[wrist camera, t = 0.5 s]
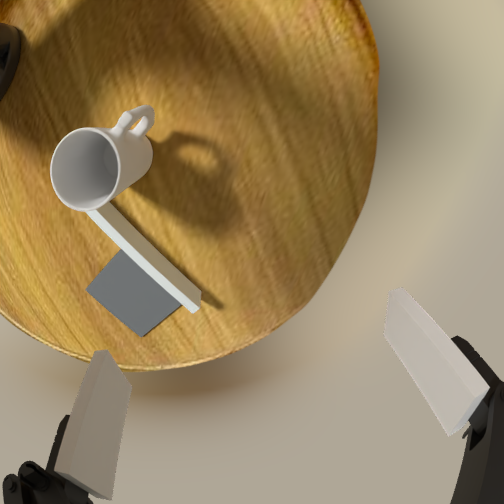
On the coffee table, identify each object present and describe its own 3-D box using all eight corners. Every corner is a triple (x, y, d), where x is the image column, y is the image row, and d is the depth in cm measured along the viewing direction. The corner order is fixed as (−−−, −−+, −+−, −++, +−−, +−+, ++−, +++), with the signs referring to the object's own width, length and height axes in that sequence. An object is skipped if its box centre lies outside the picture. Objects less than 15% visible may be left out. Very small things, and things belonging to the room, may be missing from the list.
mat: (86, 288, 36) (85, 289, 35) (130, 239, 34) (129, 240, 33) (141, 335, 40) (141, 337, 39) (190, 295, 38) (190, 297, 37)
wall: (77, 179, 30) (61, 186, 26) (82, 172, 29) (67, 178, 26) (195, 296, 38) (193, 313, 34) (201, 291, 38) (199, 308, 34)
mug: (131, 195, 31) (90, 228, 21) (92, 160, 29) (38, 178, 18) (186, 130, 29) (167, 129, 18) (145, 94, 27) (106, 77, 16)
